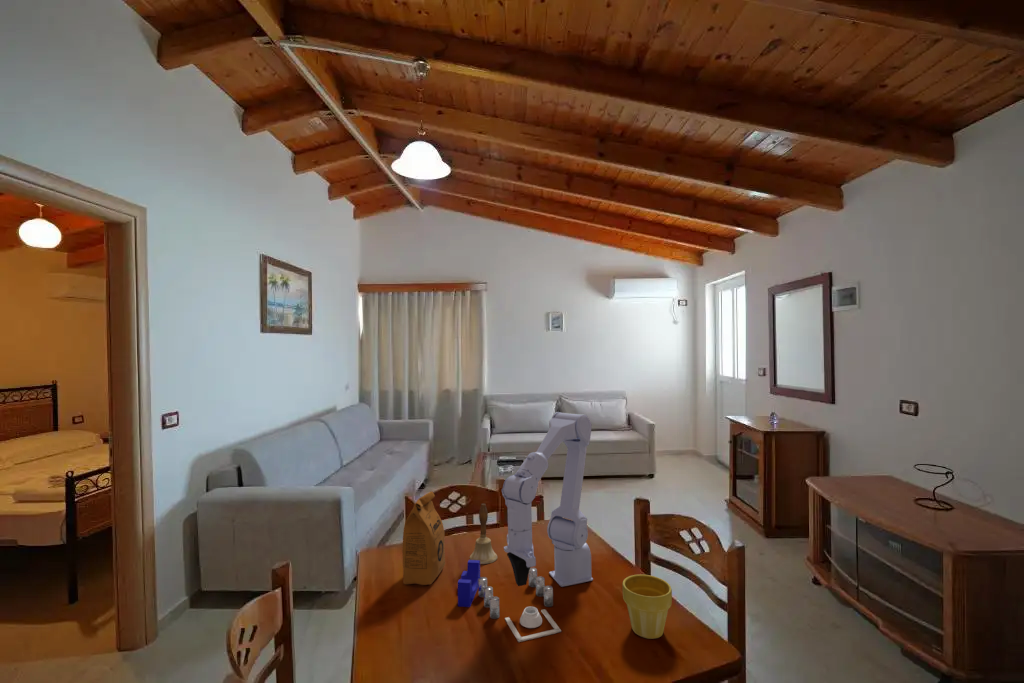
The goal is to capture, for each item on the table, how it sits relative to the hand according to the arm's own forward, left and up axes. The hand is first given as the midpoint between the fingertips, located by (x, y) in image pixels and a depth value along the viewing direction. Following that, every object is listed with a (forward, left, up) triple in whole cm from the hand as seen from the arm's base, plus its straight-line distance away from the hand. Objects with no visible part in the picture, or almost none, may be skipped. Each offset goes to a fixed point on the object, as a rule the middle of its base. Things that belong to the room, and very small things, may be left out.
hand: (521, 584), depth 112 cm
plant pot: (-23, +18, -6) cm, 30 cm away
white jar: (0, +6, -6) cm, 9 cm away
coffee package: (+19, -24, -6) cm, 32 cm away
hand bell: (+1, -29, -6) cm, 30 cm away
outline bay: (0, +7, -6) cm, 9 cm away
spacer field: (0, -4, -6) cm, 7 cm away
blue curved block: (+11, -12, -6) cm, 17 cm away
